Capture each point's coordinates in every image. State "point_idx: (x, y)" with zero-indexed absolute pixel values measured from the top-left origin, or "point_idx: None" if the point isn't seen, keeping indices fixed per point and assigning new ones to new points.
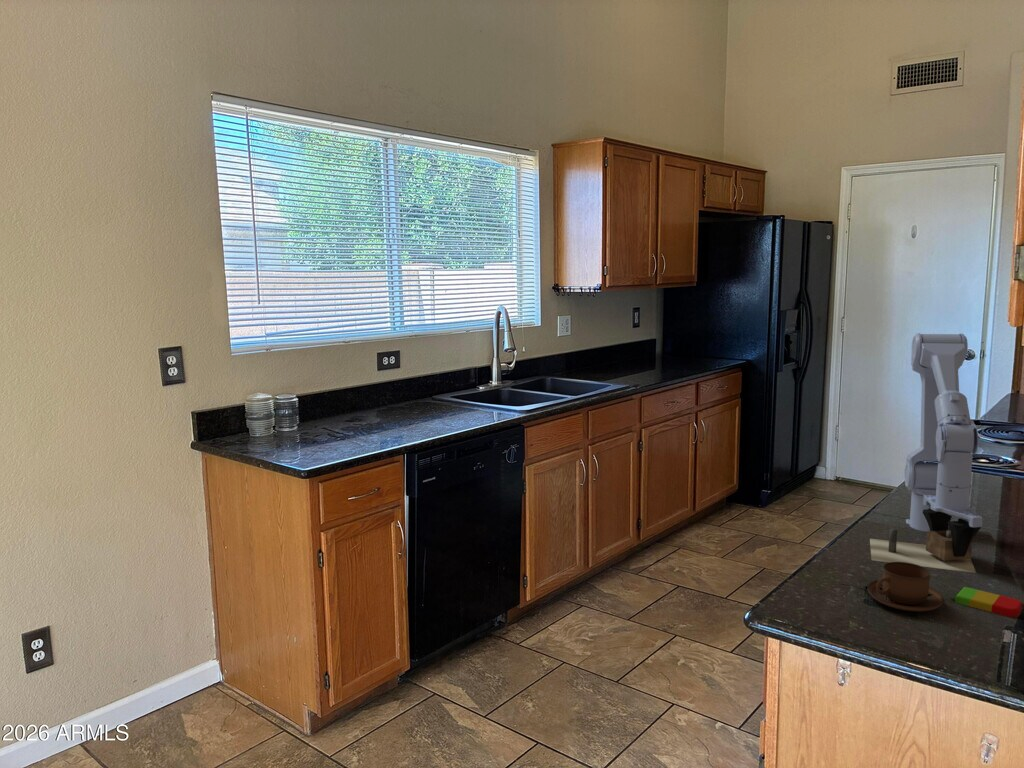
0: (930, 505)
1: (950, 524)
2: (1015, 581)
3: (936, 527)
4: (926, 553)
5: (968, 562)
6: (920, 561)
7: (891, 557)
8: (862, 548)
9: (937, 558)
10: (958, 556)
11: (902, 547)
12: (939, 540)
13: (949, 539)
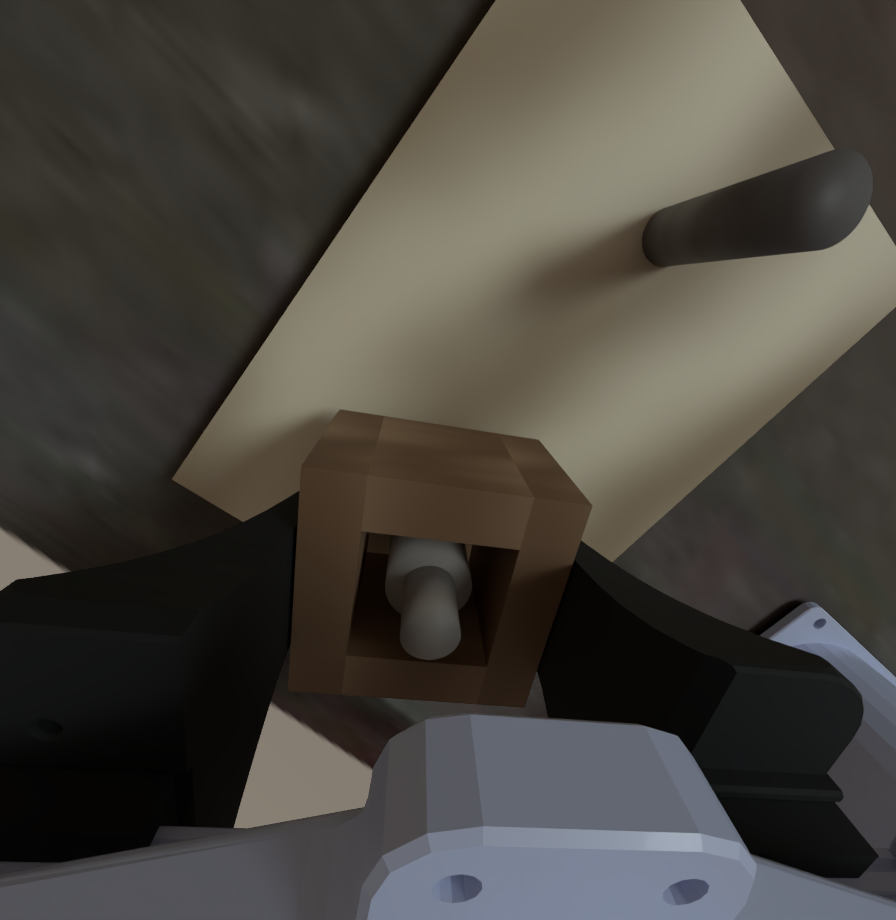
0: (866, 858)
1: (107, 606)
2: None
3: (578, 614)
4: None
5: None
6: (432, 283)
7: (584, 114)
8: (863, 141)
9: None
10: None
11: (680, 376)
12: (397, 468)
13: (331, 531)
